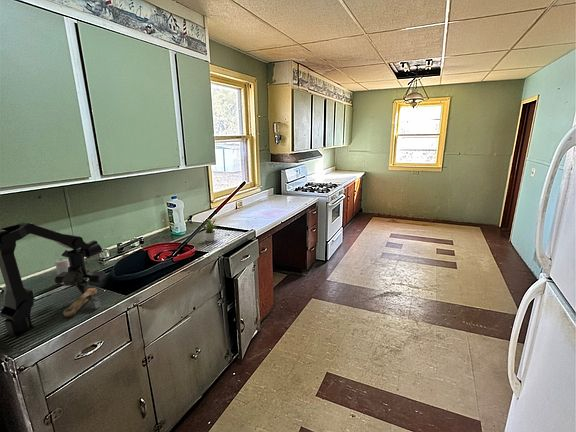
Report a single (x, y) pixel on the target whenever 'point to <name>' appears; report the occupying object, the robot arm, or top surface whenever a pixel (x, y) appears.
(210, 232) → the house plant
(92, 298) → the keeper
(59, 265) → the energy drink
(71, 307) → the brown long rod
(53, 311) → the top surface
